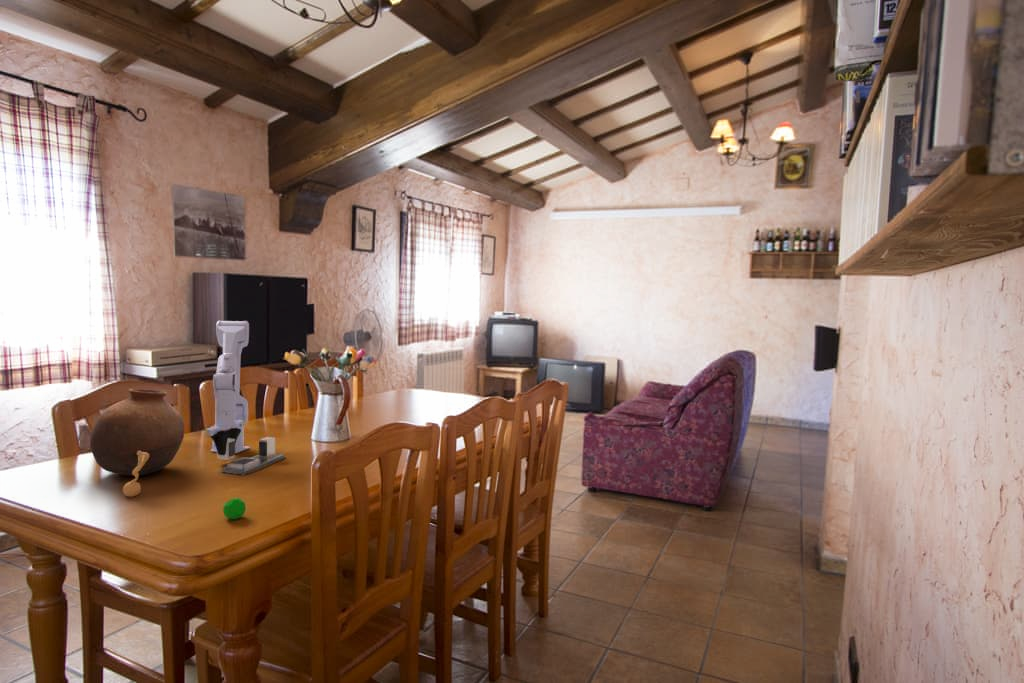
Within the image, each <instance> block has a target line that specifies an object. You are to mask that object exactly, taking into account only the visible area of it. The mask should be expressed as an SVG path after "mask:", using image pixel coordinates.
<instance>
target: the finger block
mask: <svg viewBox="0 0 1024 683" xmlns="http://www.w3.org/2000/svg"><path fill="white" fill-rule="evenodd" d="M235 455H236V453H235V439H232V438H228V439H227V444H226V453H225V455H218V452H216V458H217V460H226V461H229V460H232V459H235V457H236V456H235Z"/></svg>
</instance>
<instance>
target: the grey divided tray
mask: <svg viewBox="0 0 1024 683" xmlns="http://www.w3.org/2000/svg"><path fill="white" fill-rule="evenodd" d="M283 458H284V459H286V454H282V453H281V454H280V453H276V437H272V436H265V437H262V438H260V439H259V440H258V454H257V455H254V456H252V457H246V456H245V457H241V458H238V459H236V460H233V461H230V462H227V463H226V467H223V468H221V470H220V472H226V473H225V474H229V473H233V474H232V475H237V474H241V475H240V476H246V475H248V474H247V473H249V474H251V473H253V472H255V470H256V471H258V470H260V469H263V468H265V467H267V465H268V466H269V464H270V465H272V464H275V463H277V462H279V461H281V459H282V460H283ZM276 461H277V462H276ZM274 462H275V463H274ZM271 463H272V464H271ZM264 466H265V467H264ZM262 467H263V468H262ZM259 468H260V469H259ZM257 469H258V470H257ZM252 471H253V472H252ZM250 472H251V473H250ZM245 474H246V475H245Z"/></svg>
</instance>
